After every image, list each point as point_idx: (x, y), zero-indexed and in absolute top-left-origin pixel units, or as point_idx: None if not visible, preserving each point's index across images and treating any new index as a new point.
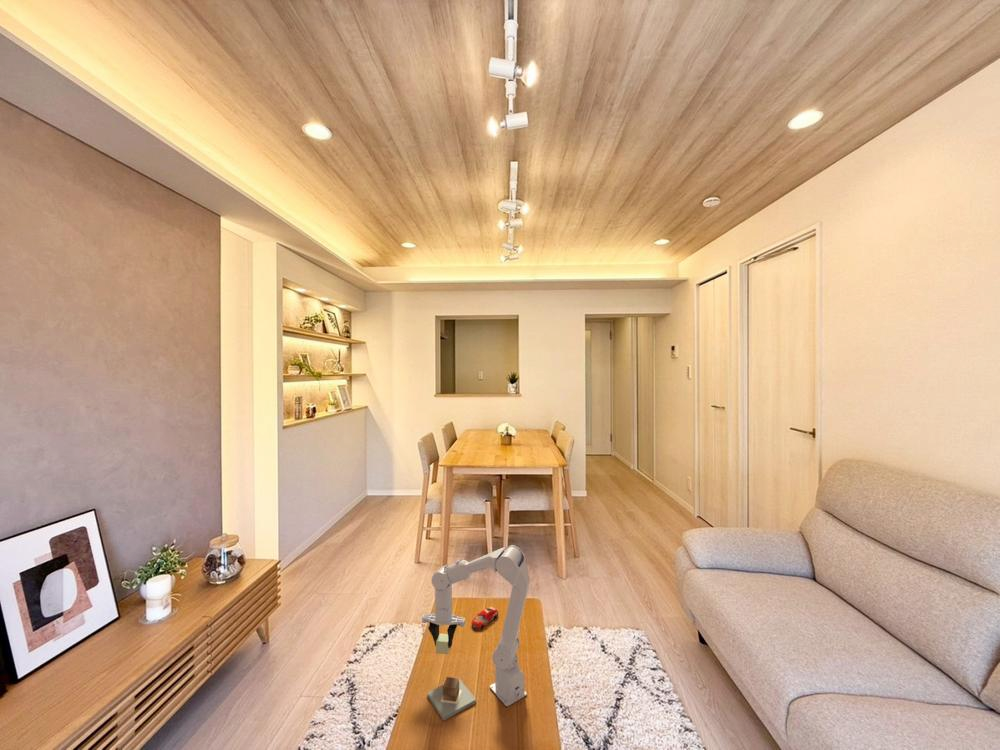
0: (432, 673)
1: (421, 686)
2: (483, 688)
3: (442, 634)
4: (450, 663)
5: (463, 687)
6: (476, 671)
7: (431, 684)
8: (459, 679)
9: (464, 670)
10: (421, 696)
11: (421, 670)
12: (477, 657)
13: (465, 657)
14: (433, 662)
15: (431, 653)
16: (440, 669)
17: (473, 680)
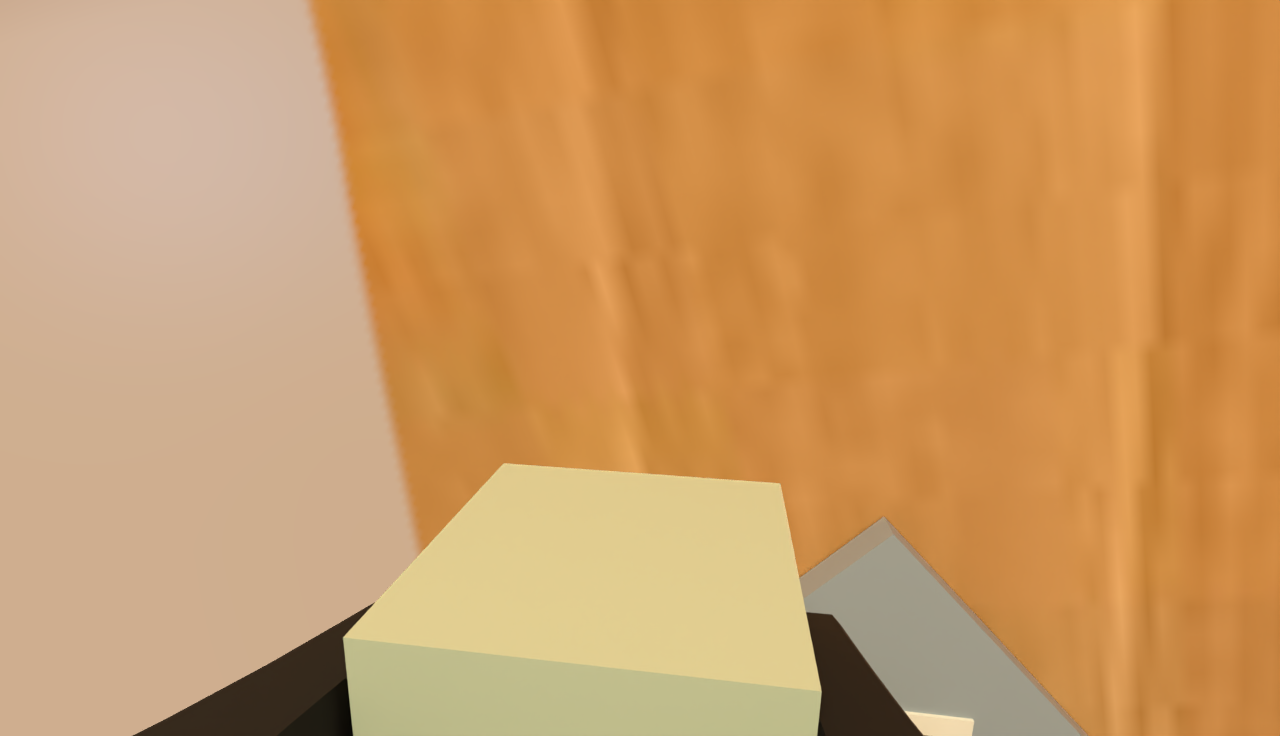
0: (542, 437)
1: None
2: (1230, 611)
3: (466, 705)
4: (714, 243)
5: (988, 680)
6: (1118, 347)
7: None
8: (915, 566)
9: (937, 347)
10: None
11: (401, 404)
12: (1118, 49)
13: (913, 84)
14: (487, 256)
15: (397, 86)
16: (615, 365)
17: (1085, 501)
